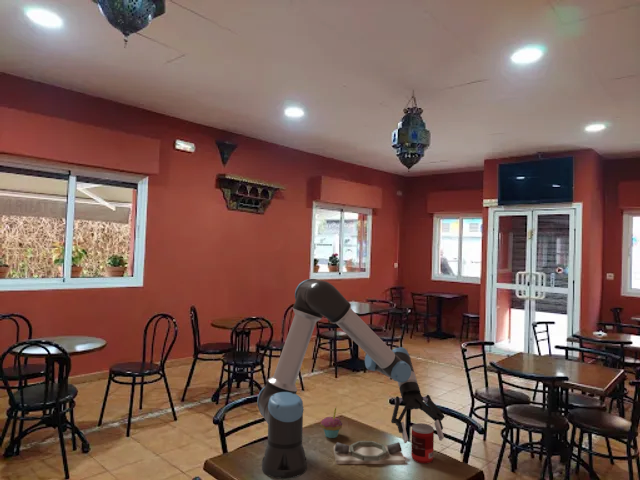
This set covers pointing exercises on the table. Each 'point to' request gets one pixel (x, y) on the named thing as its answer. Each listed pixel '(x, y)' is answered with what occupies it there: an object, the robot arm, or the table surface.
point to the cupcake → (331, 426)
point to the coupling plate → (368, 453)
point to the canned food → (422, 443)
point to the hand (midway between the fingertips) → (424, 440)
